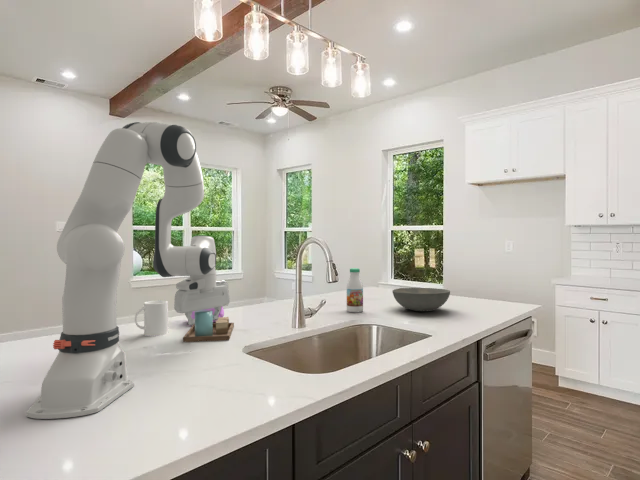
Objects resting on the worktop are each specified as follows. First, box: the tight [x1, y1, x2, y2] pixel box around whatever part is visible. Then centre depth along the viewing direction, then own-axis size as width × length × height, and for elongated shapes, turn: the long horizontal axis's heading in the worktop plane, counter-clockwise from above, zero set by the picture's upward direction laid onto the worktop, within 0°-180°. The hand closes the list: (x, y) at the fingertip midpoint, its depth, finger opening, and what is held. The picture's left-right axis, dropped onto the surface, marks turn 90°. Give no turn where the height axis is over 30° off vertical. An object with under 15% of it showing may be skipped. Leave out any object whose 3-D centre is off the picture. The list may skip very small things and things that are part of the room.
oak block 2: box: [215, 320, 228, 334], centre depth 146 cm, size 4×4×4 cm
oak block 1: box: [218, 316, 230, 330], centre depth 151 cm, size 4×4×4 cm
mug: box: [134, 299, 169, 337], centre depth 144 cm, size 12×8×12 cm
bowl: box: [392, 287, 451, 312], centre depth 188 cm, size 26×26×10 cm
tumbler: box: [195, 310, 214, 336], centre depth 138 cm, size 6×6×9 cm
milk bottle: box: [346, 267, 364, 313], centre depth 186 cm, size 8×8×20 cm
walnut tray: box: [182, 322, 235, 343], centre depth 144 cm, size 20×15×2 cm
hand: (203, 322), depth 138 cm, fingers open, 8 cm apart
